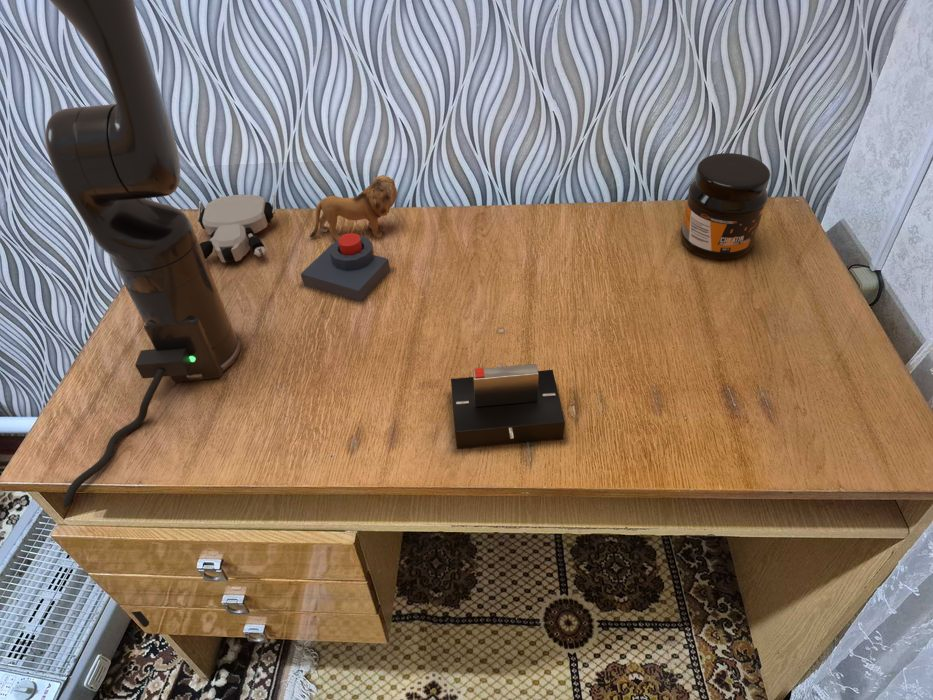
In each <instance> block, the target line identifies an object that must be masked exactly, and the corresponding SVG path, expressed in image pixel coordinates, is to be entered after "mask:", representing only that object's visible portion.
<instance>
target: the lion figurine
mask: <svg viewBox="0 0 933 700" xmlns="http://www.w3.org/2000/svg"><path fill="white" fill-rule="evenodd" d="M397 198H398V190H397V187H396V184H395V179H394V178H391V177H390V176H387V175H385V174H381V175H378V176H376V177H374V178H373V179H372V182H371V184H370V185H368V186H367V187H366V188H365V189H364V190H363V191H361V192H360V193H359V194H358V195H357V196H354V197H353V196H352V197H341V196H337V195H329V196H326V197H324V198H323V199H321V200H320V201H319V202H318V204H317V206H316V210H315V225H314V229H313V230H312V231H311V233H310V235H309V236H308V237H309V238H315V236H317V233H318V230H320V232H322V233H327V232H329V233H330V234H331V235H332V236H333V238H334V240H335V241H337V240H338V239H339V238H340V237H341V236H342V235H343V234H342V235H340V234H338V232H337V226H338V225H337V224H338V217H341V218H344V219H345V220H349V221H361V220H366V221H367V222H368V226H369V229H371V233H372V234H373V236H374V237H375V238H381V237H382V236H383V233H382V231H379V226H380V225H379V219H381V217H386V216H387V215H388V214H389V213H390V209H391V208H392V207H393V205H394V204H395V203H396V200H397ZM321 212H322V215H321ZM326 223H328V224H329V227H328V226H325V225H326Z"/></svg>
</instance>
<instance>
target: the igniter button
mask: <svg viewBox="0 0 933 700" xmlns="http://www.w3.org/2000/svg"><path fill="white" fill-rule="evenodd" d="M360 236H361V235H359V234H357V233H354V232H350V233H349V232H348V233H345V234H342V236H341V237H340V238H339V240H338V243H339V247H340V252H341V253H342V254H343V255H346V256H348V255H355V254H357V253H360V252H361V250H362V244H361V238H360Z"/></svg>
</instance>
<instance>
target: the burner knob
mask: <svg viewBox="0 0 933 700" xmlns="http://www.w3.org/2000/svg"><path fill="white" fill-rule="evenodd" d="M538 371H539V369H538V364H537V363H529V364H519V365H518V364H517V365H508V366H502V367H499V366H495V367H487V368H486V367H485V368H484V367H476V368H473V369H472V377H473V384H474V398H475V406H476V407H481V406H492V405H503V404H514V403H525V402H536V401H538V377H539V373H538Z"/></svg>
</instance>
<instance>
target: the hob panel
mask: <svg viewBox="0 0 933 700" xmlns="http://www.w3.org/2000/svg"><path fill="white" fill-rule="evenodd" d="M498 367H503V363H498ZM538 373H539V377H538V401H536V402H525V403H514V404H503V405H492V406H481V407H476V406H475V398H474V384H473V376H468V377H467V376H465V377H457V378H456V377H455V378H451V379H450V385H451V387H450V388H451V398H452V411H453V412H452V413H453V424H454V435H455V436H454V437H455V446H456V449H457V450H458V449H470V448H480V447H490V446H491V447H493V446H502V445H503V446H504V445H513V444H515V445H516V444H523V443H534V442H544V441H555V440H556V441H557V440H558V441H559V440H564V438H565V427H566V420H565V416H564V412H563V407H562V403H561V400H560V395H559V390H558V386H557V382H556V377H555V374H554V369H545V370H544V369H543V370H538Z"/></svg>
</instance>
